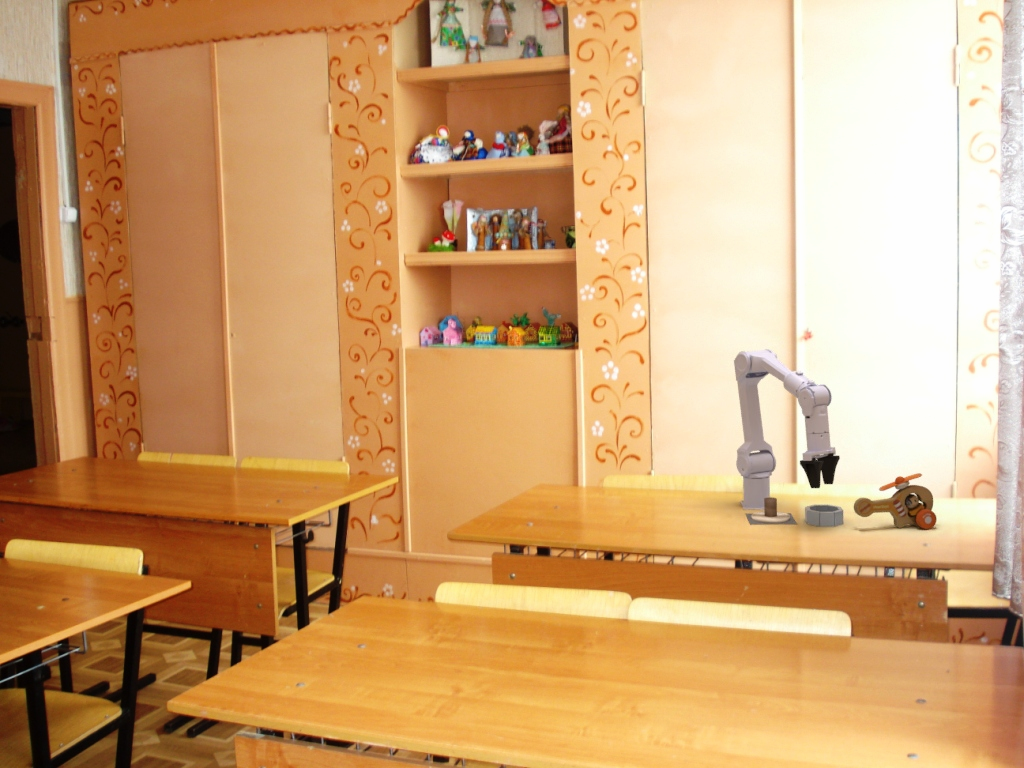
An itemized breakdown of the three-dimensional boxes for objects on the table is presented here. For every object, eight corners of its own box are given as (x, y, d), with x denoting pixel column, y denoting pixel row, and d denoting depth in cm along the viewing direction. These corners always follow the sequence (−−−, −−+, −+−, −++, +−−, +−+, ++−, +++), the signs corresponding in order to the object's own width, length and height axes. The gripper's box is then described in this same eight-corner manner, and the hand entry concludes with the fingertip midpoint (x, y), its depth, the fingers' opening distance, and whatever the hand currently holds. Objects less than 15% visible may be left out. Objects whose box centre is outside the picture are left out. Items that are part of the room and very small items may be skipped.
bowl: (803, 519, 262) (803, 504, 262) (838, 519, 261) (838, 504, 260) (809, 528, 253) (808, 512, 253) (845, 527, 252) (845, 512, 251)
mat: (745, 514, 269) (745, 513, 269) (790, 514, 268) (790, 513, 268) (750, 525, 258) (750, 524, 257) (797, 525, 256) (797, 524, 256)
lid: (749, 514, 268) (749, 494, 268) (787, 514, 267) (787, 494, 266) (753, 523, 258) (753, 503, 258) (792, 523, 257) (792, 502, 256)
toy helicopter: (941, 528, 248) (941, 474, 246) (863, 534, 245) (863, 480, 244) (922, 521, 256) (923, 468, 255) (847, 526, 253) (847, 473, 252)
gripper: (819, 435, 244) (824, 490, 244) (845, 429, 255) (849, 482, 255) (793, 435, 249) (797, 489, 249) (819, 430, 259) (823, 482, 259)
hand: (822, 486), depth 252 cm, fingers open, 7 cm apart
